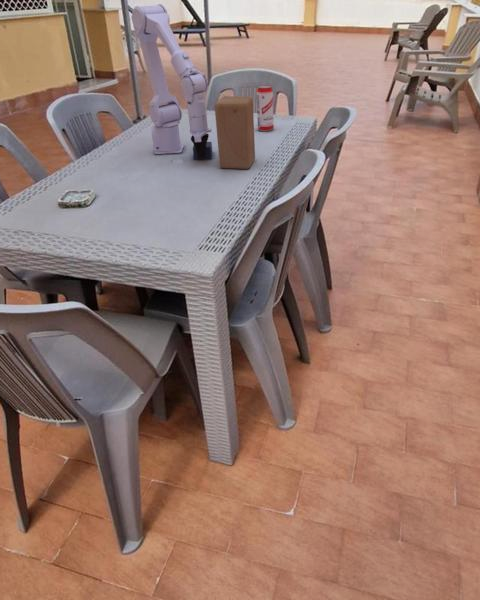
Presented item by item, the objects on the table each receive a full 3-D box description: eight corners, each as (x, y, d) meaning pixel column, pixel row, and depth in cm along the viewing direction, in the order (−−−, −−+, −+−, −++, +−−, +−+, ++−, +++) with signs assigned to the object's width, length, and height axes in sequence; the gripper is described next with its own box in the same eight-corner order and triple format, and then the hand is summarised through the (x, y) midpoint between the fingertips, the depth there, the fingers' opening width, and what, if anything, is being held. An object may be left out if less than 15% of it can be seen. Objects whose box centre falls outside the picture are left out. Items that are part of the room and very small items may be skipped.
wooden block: (249, 170, 146) (246, 103, 135) (219, 169, 148) (213, 103, 137) (255, 159, 154) (253, 95, 143) (227, 158, 156) (222, 95, 145)
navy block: (194, 159, 157) (192, 147, 154) (195, 153, 162) (194, 142, 159) (211, 158, 157) (210, 146, 154) (212, 153, 162) (211, 141, 159)
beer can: (255, 129, 185) (253, 86, 175) (269, 126, 187) (268, 84, 177) (262, 133, 180) (260, 88, 171) (276, 130, 182) (275, 86, 173)
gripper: (208, 120, 141) (212, 164, 149) (211, 109, 153) (215, 150, 161) (185, 121, 141) (191, 165, 149) (190, 110, 153) (194, 151, 161)
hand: (202, 157), depth 155 cm, fingers closed
